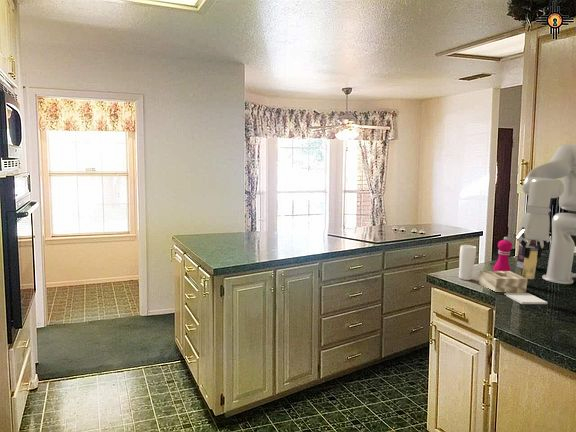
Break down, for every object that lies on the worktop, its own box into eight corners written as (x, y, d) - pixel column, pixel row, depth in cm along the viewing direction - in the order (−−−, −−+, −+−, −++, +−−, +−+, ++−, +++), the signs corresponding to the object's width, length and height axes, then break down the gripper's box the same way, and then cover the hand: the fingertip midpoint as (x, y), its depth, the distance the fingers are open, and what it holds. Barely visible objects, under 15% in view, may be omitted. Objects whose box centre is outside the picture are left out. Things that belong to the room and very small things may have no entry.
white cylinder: (453, 277, 214) (457, 244, 212) (465, 276, 217) (468, 244, 214) (464, 281, 208) (468, 248, 206) (476, 280, 211) (480, 247, 208)
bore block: (508, 284, 207) (509, 271, 206) (525, 293, 195) (527, 279, 195) (478, 284, 205) (480, 270, 204) (494, 292, 193) (496, 278, 192)
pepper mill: (511, 283, 210) (516, 238, 207) (493, 281, 211) (499, 237, 208) (507, 278, 217) (512, 236, 214) (490, 277, 218) (495, 234, 215)
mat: (528, 295, 193) (528, 293, 193) (547, 304, 182) (547, 302, 182) (504, 294, 191) (504, 292, 191) (521, 304, 180) (521, 302, 180)
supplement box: (528, 265, 246) (532, 235, 244) (536, 268, 242) (540, 237, 239) (515, 266, 243) (519, 236, 241) (523, 268, 239) (527, 237, 236)
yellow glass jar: (529, 276, 188) (533, 246, 186) (536, 279, 183) (541, 249, 182) (519, 275, 187) (523, 246, 185) (526, 279, 183) (530, 248, 181)
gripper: (550, 210, 186) (543, 255, 189) (511, 208, 184) (505, 254, 186) (564, 213, 179) (557, 260, 182) (523, 211, 176) (517, 259, 179)
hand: (530, 256), depth 184 cm, fingers closed on yellow glass jar, 4 cm apart
